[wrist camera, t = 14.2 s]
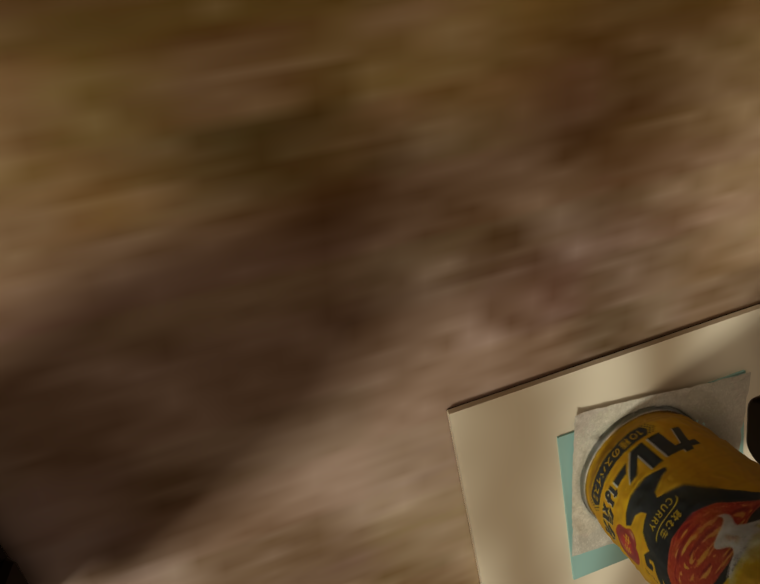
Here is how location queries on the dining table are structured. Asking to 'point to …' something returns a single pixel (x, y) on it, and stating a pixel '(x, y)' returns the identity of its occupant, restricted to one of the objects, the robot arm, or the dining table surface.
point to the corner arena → (555, 448)
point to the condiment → (670, 485)
